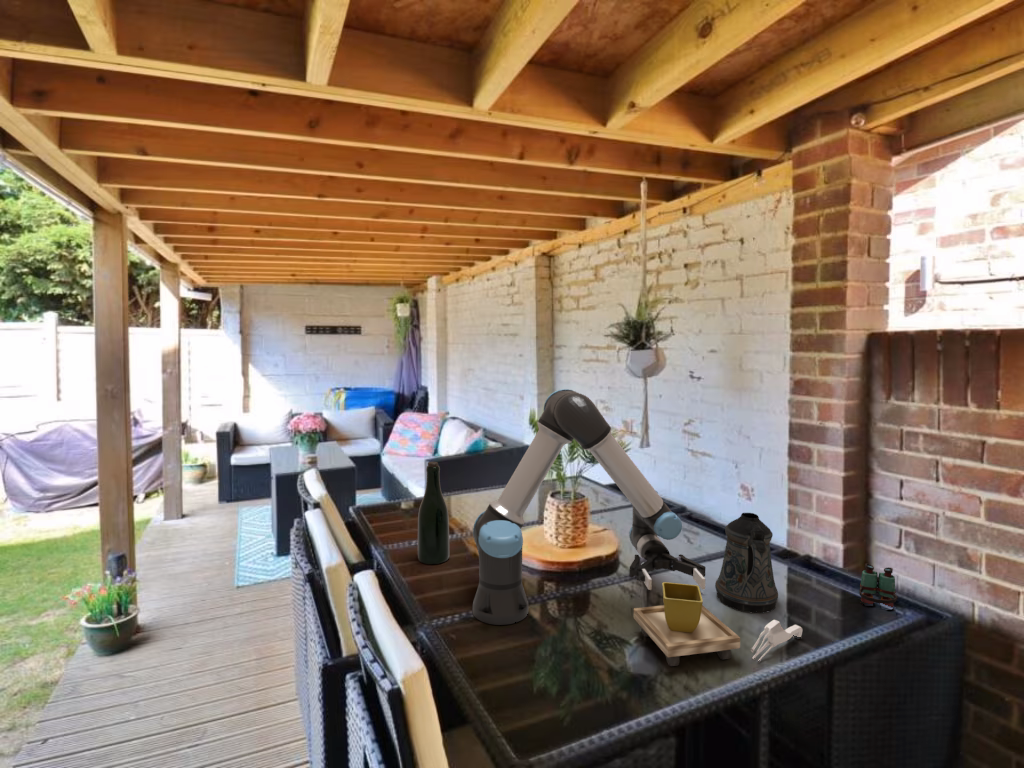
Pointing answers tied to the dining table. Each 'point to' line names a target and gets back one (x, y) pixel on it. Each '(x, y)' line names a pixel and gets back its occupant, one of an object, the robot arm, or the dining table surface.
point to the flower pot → (682, 606)
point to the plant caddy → (687, 635)
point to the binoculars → (884, 586)
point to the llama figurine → (776, 636)
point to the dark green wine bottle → (433, 521)
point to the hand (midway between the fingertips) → (677, 584)
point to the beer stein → (747, 567)
